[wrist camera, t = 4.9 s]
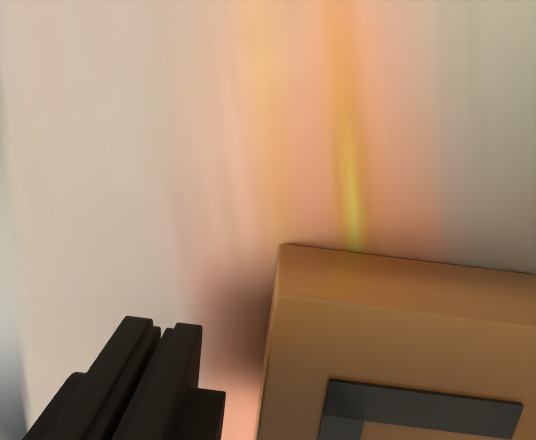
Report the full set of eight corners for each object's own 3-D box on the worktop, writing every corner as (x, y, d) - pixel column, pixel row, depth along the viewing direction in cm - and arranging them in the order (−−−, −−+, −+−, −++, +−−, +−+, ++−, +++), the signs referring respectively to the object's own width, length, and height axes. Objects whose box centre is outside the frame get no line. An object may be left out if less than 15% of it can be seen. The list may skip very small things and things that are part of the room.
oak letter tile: (278, 242, 10) (274, 296, 8) (540, 274, 10) (621, 340, 7) (253, 444, 12) (243, 540, 9) (471, 472, 12) (518, 577, 9)
